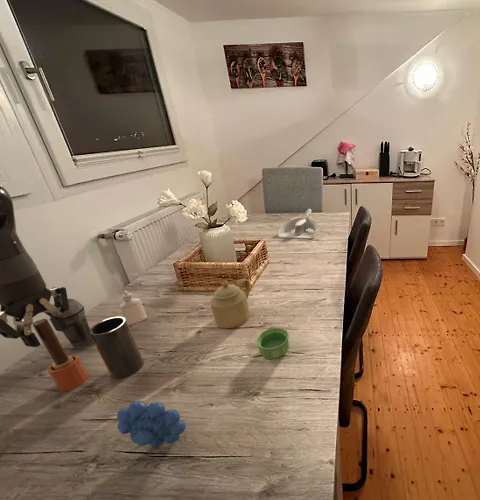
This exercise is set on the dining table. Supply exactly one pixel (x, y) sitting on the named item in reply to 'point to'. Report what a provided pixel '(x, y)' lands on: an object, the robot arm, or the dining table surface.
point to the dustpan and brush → (299, 227)
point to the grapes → (150, 423)
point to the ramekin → (273, 342)
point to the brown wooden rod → (52, 344)
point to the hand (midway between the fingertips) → (48, 337)
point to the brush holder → (69, 375)
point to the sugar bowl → (231, 304)
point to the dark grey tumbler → (117, 347)
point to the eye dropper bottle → (132, 309)
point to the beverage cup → (76, 324)
